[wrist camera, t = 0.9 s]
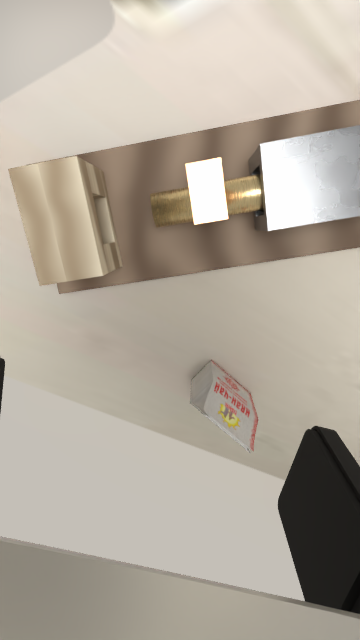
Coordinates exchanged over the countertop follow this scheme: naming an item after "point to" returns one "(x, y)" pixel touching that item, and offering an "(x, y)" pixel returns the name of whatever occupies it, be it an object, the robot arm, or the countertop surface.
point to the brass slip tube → (207, 196)
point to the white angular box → (225, 404)
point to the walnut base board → (217, 237)
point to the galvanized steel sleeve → (308, 179)
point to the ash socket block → (66, 219)
